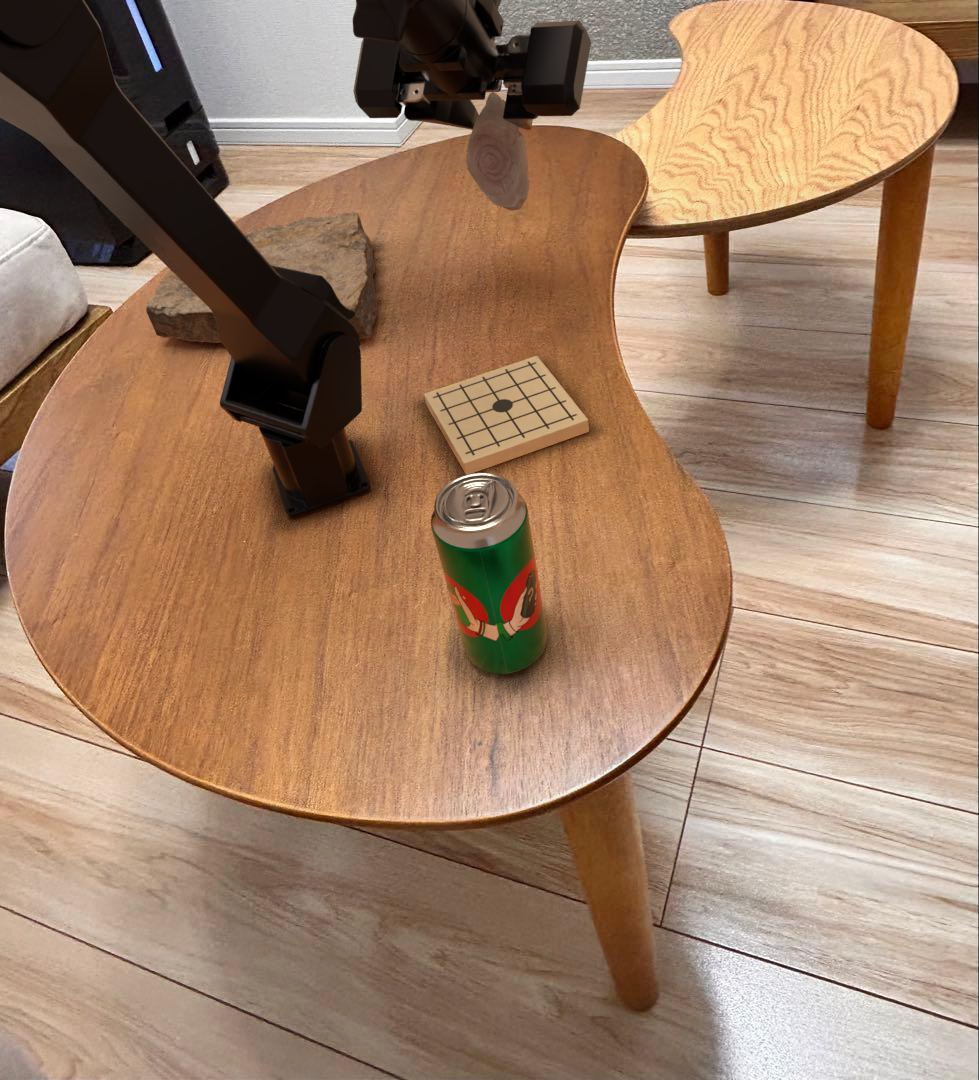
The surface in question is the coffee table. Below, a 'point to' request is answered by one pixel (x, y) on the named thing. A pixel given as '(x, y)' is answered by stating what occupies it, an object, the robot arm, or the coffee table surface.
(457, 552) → the soda can
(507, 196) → the fossil
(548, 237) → the coffee table surface
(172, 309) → the stone
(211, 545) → the coffee table surface
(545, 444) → the board
